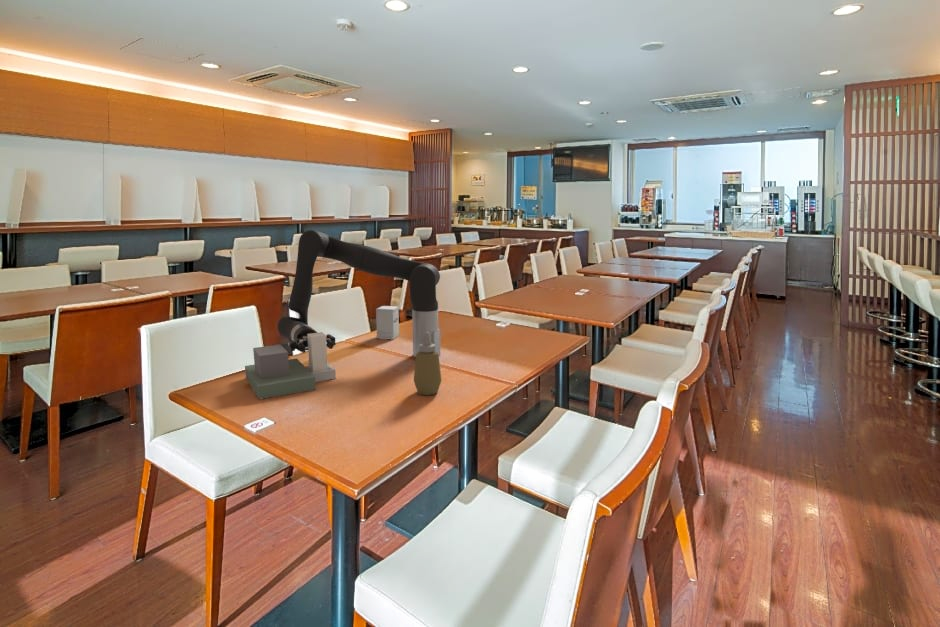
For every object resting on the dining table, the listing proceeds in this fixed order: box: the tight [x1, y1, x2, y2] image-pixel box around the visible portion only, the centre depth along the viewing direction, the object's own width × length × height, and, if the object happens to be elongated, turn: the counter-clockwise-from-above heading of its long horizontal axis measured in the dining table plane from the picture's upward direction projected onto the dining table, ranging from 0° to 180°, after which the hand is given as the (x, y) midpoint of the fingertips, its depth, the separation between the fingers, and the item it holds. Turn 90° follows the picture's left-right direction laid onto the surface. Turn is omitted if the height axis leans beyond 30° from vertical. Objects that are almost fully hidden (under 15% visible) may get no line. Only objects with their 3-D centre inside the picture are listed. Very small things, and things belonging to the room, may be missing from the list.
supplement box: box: [375, 305, 400, 341], centre depth 217 cm, size 7×7×13 cm
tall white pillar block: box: [307, 331, 329, 373], centre depth 167 cm, size 5×5×14 cm
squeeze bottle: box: [413, 332, 442, 396], centre depth 153 cm, size 8×8×18 cm
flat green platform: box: [244, 344, 337, 400], centre depth 163 cm, size 24×22×11 cm
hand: (318, 347), depth 165 cm, fingers open, 8 cm apart
